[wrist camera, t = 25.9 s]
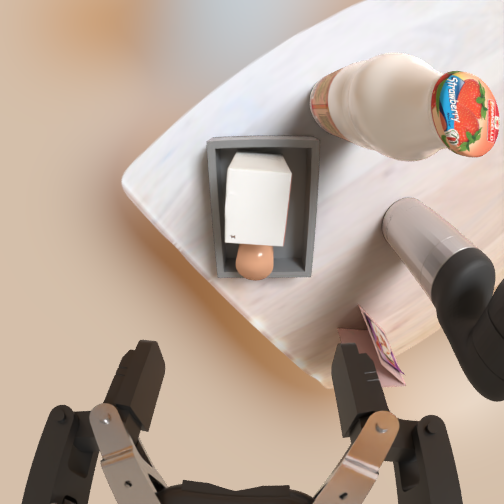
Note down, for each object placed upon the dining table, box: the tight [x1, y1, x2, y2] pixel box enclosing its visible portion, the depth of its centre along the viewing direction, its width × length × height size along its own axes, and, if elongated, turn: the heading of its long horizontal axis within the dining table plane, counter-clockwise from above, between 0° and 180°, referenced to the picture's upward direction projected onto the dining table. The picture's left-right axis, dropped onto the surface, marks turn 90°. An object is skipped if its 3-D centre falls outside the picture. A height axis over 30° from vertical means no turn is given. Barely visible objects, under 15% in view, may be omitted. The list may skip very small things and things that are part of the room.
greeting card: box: [337, 304, 406, 387], centre depth 47 cm, size 11×7×15 cm, turn 46°
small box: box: [225, 150, 292, 246], centre depth 33 cm, size 8×6×13 cm
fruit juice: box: [310, 53, 499, 161], centre depth 22 cm, size 9×9×28 cm
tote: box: [207, 136, 320, 278], centre depth 40 cm, size 14×20×5 cm
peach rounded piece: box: [236, 244, 273, 280], centre depth 40 cm, size 5×5×7 cm
